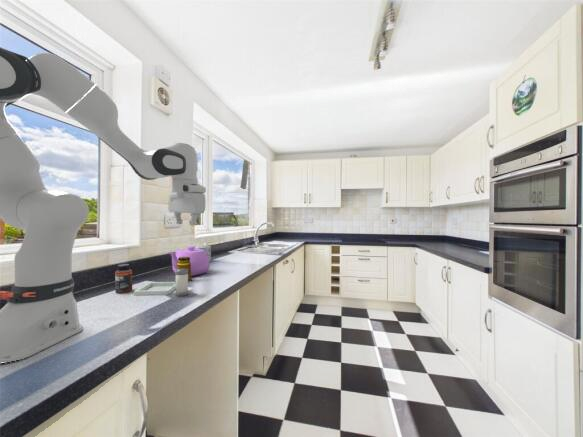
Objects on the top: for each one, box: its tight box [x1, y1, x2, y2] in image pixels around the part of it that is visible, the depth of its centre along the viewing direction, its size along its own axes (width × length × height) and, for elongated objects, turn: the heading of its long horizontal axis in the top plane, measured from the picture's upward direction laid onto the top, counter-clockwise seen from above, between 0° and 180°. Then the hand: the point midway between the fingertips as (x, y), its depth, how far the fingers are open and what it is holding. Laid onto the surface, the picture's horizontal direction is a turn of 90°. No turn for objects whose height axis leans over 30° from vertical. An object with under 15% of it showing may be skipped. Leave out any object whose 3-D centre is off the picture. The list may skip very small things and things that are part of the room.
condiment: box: [177, 257, 193, 282], centre depth 119 cm, size 7×8×12 cm
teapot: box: [167, 245, 210, 278], centre depth 133 cm, size 23×21×15 cm
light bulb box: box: [194, 245, 212, 263], centre depth 166 cm, size 11×7×11 cm, turn 153°
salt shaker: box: [174, 268, 189, 297], centre depth 97 cm, size 4×4×10 cm
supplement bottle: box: [114, 263, 133, 294], centre depth 104 cm, size 6×6×11 cm
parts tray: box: [133, 281, 176, 296], centre depth 103 cm, size 13×13×2 cm
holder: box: [165, 289, 199, 302], centre depth 97 cm, size 9×9×1 cm
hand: (185, 224), depth 94 cm, fingers open, 8 cm apart
